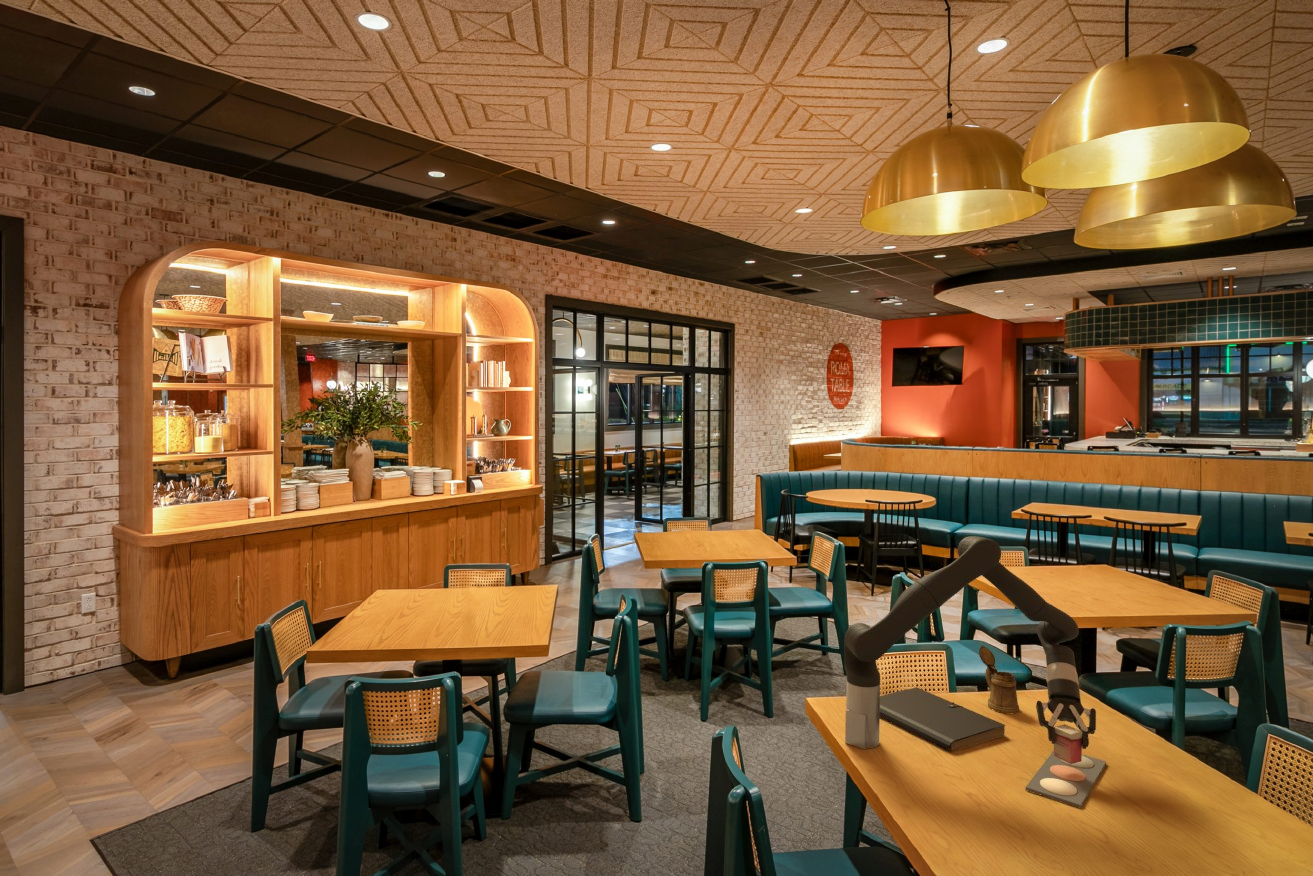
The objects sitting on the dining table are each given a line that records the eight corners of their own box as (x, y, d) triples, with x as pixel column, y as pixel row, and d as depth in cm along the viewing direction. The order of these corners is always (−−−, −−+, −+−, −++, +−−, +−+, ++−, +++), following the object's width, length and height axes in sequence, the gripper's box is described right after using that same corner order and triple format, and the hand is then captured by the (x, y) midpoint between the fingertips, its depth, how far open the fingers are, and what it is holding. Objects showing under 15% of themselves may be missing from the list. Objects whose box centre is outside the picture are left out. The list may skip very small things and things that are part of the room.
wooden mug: (989, 696, 235) (990, 643, 235) (1025, 711, 223) (1026, 655, 222) (970, 700, 231) (971, 646, 231) (1006, 716, 219) (1007, 659, 219)
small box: (1052, 756, 182) (1053, 726, 182) (1064, 753, 184) (1064, 723, 184) (1071, 765, 178) (1071, 734, 177) (1082, 761, 179) (1082, 731, 179)
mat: (1080, 808, 166) (1080, 803, 166) (1025, 790, 174) (1025, 785, 174) (1106, 764, 188) (1106, 760, 188) (1056, 750, 196) (1056, 746, 196)
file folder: (1006, 723, 205) (948, 741, 194) (1005, 737, 205) (948, 755, 194) (917, 686, 234) (863, 699, 223) (917, 698, 234) (863, 712, 223)
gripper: (1034, 673, 190) (1038, 734, 179) (1095, 681, 185) (1104, 744, 174) (1031, 686, 195) (1036, 746, 184) (1091, 694, 190) (1099, 756, 179)
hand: (1069, 745), depth 179 cm, fingers closed on small box, 6 cm apart
